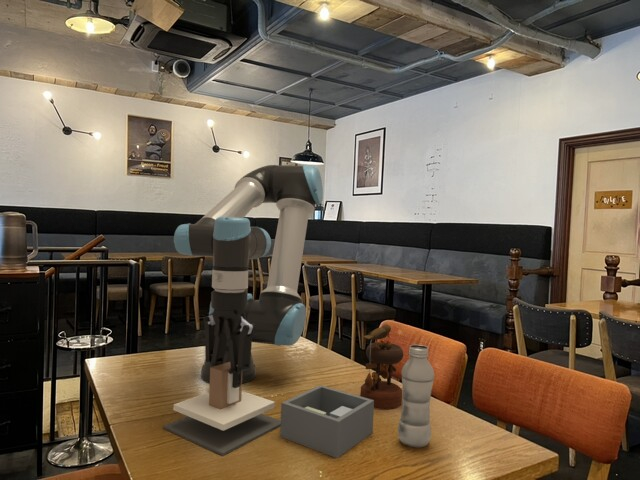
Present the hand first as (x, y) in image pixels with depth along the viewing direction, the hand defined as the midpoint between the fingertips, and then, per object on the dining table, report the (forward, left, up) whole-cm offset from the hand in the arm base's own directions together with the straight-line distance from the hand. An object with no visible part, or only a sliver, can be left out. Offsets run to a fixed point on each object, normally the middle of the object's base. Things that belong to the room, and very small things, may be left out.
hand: (225, 398), depth 98 cm
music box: (+19, +36, -6) cm, 41 cm away
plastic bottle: (+35, +19, -6) cm, 40 cm away
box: (+19, +11, -6) cm, 23 cm away
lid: (0, 0, -2) cm, 2 cm away
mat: (0, 0, -6) cm, 6 cm away
